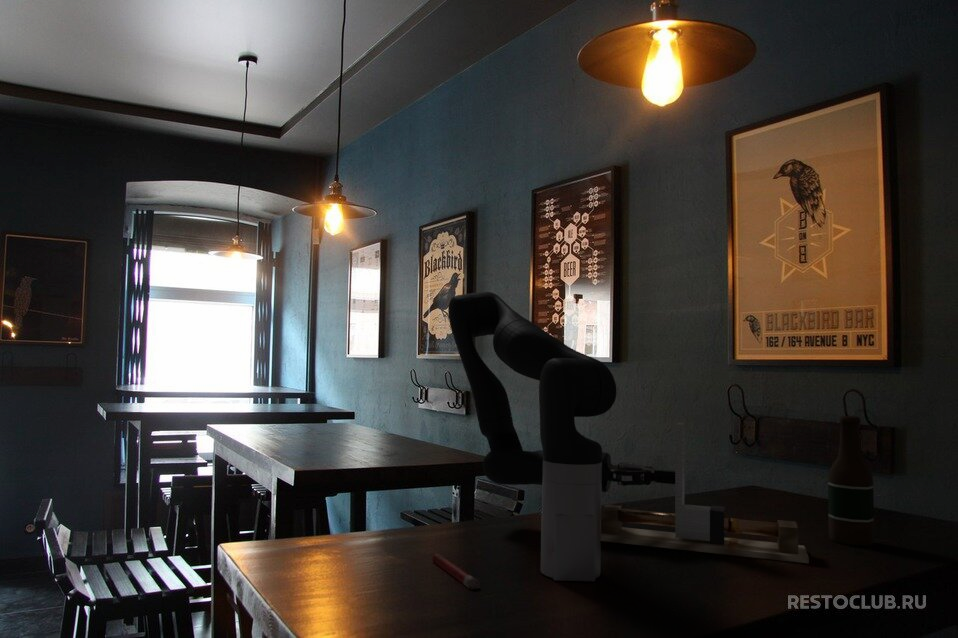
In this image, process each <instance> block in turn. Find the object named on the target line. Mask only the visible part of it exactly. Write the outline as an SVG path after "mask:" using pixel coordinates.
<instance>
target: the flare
mask: <svg viewBox="0 0 958 638" xmlns="http://www.w3.org/2000/svg"><path fill="white" fill-rule="evenodd" d="M431 559H432V563H434V564H435V565H436V566H437V567H439V568H441V570H443V571H444V572H446V573H448V574H449V575H450V576H452V578H454V579H456V580H457V581H458V582H460V584H462V585H464V586H465V588H467V589H469V590H477V589H480V586H481V585H480V584H481V583H480V580H478V579H476V578H475V577H473V576H472V575H471V574H469V573H468V572H466V571H464V570H463V569H462V568H461V567H459V566H457V565H456V564H455V563H453V562H452V561H450V560H449V559H447V558H446V557H444V556H443V555H442V554H440V553H438V552H437V553H434V554H433V556H432V558H431Z"/></svg>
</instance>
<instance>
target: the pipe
mask: <svg viewBox="0 0 958 638" xmlns="http://www.w3.org/2000/svg"><path fill="white" fill-rule="evenodd" d="M618 520H619V521H620V522H622V523H629V524H630V523H632V524H641V525H642V524H643V525H650V526H651V525H652V526H663V527H671V528H675V512H674V513H672V512H661V511H651V510H642V509H641V510H639V509H629V508H622V509H620V508H619V512H618ZM724 532H725V533H729V534H738V535H739V534H743V535H751V536H752V535H753V536H763V537H774V538H778V537H779V524H778V522H771V521H770V522H769V521H759V520H749V519H748V520H747V519H739V518H735V517H728V518H727V517H726V518H724Z"/></svg>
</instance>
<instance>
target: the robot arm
mask: <svg viewBox="0 0 958 638" xmlns="http://www.w3.org/2000/svg"><path fill="white" fill-rule="evenodd" d="M447 311H448V313H447V315H448V321H449V326H450V329H451V333H452V336H453V339H454V342H455V345H456V349H457V352H458V355H459V357H460V360H461V363H462V365H463V369H464V372H465V375H466V377H467V381H468V384H469V386H470V391H471V394H472V398H473V402H474V408H475V413H476V417H477V422H478V427H479V430H480V433H481V435H482V436H484V437H485V438H486V439H487V442H488V446H489V450H490V451H489V452H488V453H487V454H486V455H485V457H484V458H483V461H482V471H483V473H484V475H485V477H486V478H487V479H488V480H490V481H491V483H494V484H497V485H504V486H505V485H506V486H507V485H511V486H512V485H513V486H518V485H519V486H520V485H521V486H522V485H523V486H524V485H535V486H536V485H537V486H541V522H540V525H541V526H540V527H541V528H540V531H541V532H540V572H541V574H543V575H544V576H546V577H549V578H551V579H553V581H559V582H560V581H563V582H564V581H565V582H567V581H569V582H596V579H597V578H599V577H600V576H601V562H602V561H601V559H602V558H601V557H602V556H601V553H602V550H601V549H602V547H601V546H602V544H601V542H602V541H601V509H602V493H608V492H609V491H610V488H611V484H612V482H613V483H617V485H618V486H622V487H623V486H624V487H625V486H643V485H644V486H649V485H653V484H669V485H675V470H665V469H663V470H662V469H657V468H655V467H653V466H648V465H644V464H636V463H633V462H632V463H630V462H627V461H626V462H625V461H621V462H619V463H618V464H612V458H611V455H610V453H608V452H605V451H604V452H603V447H602V445H601V443H599V442H598V441H596V440H594V439H590V438H588V437H585V436H584V435H583V434H581V433H580V432H579V431H578V430H577V428H576V422H575V421H576V420H575V418H591V417H597V416H600V415H603V414H605V413H606V412H608V411H609V410H611V409H612V407H613V405H614V403H615V402H616V399H617V393H618V392H617V384H616V380H615V378H614V375H613V374H612V372H611V370H610V369H609V368H608V366H607V365H606V364H605V363H603V362H602V361H600V360H599V359H596V358H594V357H591V356H589V355H587V354H585V353H582V352H580V351H577V350H575V349H573V348H571V346H568V345H567V344H566V343H564V342H563V341H561V340H559V339H558V338H557V337H555V336H553V335H552V334H550V333H548V332H547V331H546V330H544V329H543V328H541V327H540V326H539V325H537V324H535V323H534V322H532V321H530V320H528V319H527V318H526V317H524V316H522V315H521V314H519V313H518V312H517V311H515V310H514V309H512V308H511V306H510V305H508V304H507V303H506V302H505V301H504V300H503V299H502V298H501V297H500V296H499V295H497V294H496V293H494V292H491V291H480V292H479V291H478V292H472V293H465V294H458V295H454V296H452V297H451V298H450V301H449V304H448V310H447ZM485 336H493V337H492V347H493V350H494V353H495V355H496V356H497V358H498V359H499V360H500V361H501V362H502V363H504V364H505V366H506V365H507V367H509V368H510V369H511V370H512V371H514V372H515V373H518V374H519V375H521V376H523V377H527V378H528V379H529V378H530V379H533V380H536V381H538V382H539V384H538V400H539V401H538V402H539V403H538V404H539V437H540V443H541V444H540V445H541V448H542V449H539V450H533V451H532V450H531V451H530V450H523V447H522V443H521V440H520V438H519V436H518V433H517V431H516V429H515V426H514V420H513V415H512V410H511V405H510V400H509V397H508V393H507V391H506V388H505V386H504V384H503V383H502V381H500V378H498V377H497V376H496V374H495V373H494V372H493V370H491V369H490V368H489V366H488V365H487V364H486V363H485V361H484V360H483V359H482V357H481V356H480V355H479V353H478V350H477V347H476V345H475V343H474V338H478V337H485Z"/></svg>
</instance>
